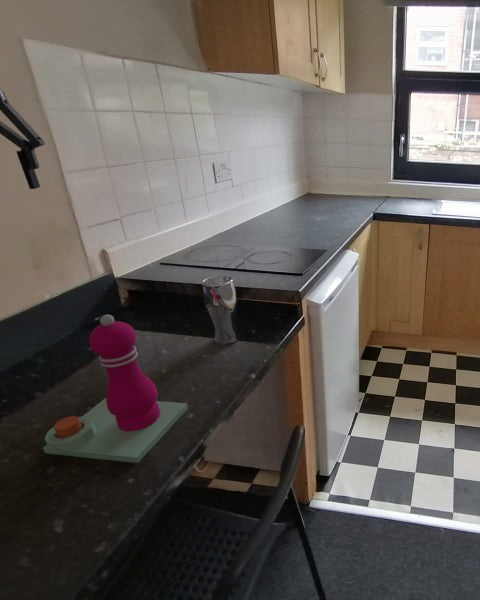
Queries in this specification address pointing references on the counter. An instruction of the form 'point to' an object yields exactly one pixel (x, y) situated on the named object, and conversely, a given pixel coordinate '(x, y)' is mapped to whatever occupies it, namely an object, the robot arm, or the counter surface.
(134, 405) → the pepper mill
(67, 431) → the power button
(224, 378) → the counter surface
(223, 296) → the beer glass
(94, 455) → the scale
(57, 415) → the counter surface
